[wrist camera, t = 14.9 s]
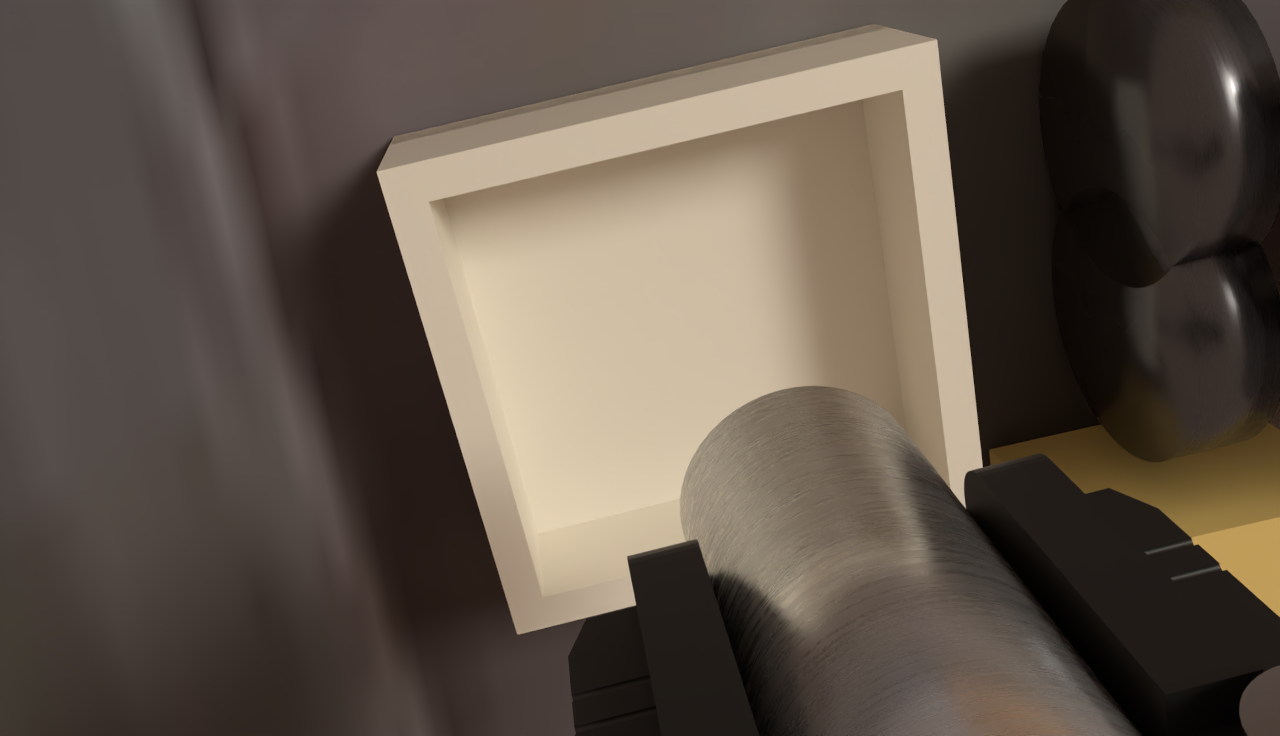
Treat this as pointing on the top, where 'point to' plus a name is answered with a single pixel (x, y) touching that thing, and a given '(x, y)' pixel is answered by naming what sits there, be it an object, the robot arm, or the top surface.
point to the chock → (1188, 494)
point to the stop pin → (871, 585)
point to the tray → (680, 287)
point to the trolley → (1165, 217)
